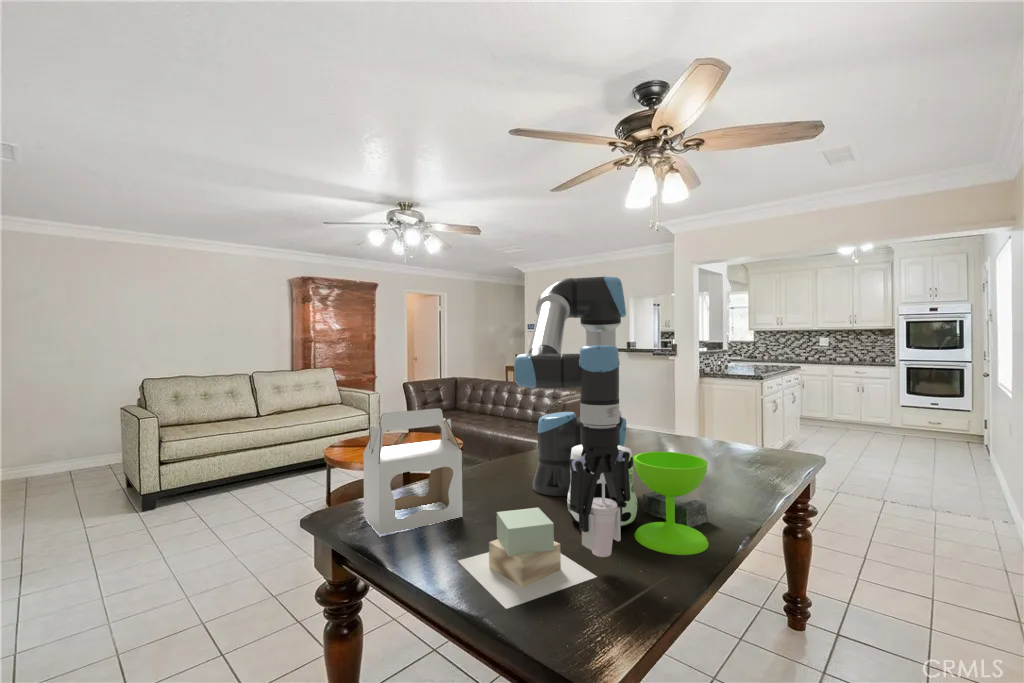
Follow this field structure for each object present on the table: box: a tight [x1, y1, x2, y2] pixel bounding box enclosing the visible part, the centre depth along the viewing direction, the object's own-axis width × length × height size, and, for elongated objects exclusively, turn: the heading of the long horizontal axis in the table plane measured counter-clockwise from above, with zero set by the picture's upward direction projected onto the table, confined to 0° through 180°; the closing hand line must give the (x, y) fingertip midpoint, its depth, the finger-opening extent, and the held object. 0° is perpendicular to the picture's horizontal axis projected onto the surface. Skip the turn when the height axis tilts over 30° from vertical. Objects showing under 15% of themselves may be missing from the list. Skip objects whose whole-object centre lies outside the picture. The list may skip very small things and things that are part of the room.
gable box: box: [363, 407, 463, 534], centre depth 117 cm, size 22×13×28 cm, turn 123°
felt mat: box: [457, 551, 598, 610], centre depth 89 cm, size 20×20×1 cm
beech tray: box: [488, 538, 562, 587], centre depth 89 cm, size 10×10×5 cm
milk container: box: [566, 445, 638, 529], centre depth 114 cm, size 17×17×18 cm
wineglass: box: [633, 451, 710, 556], centre depth 103 cm, size 16×16×18 cm
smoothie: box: [590, 481, 618, 558], centre depth 88 cm, size 6×6×14 cm
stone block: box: [642, 491, 709, 528], centre depth 117 cm, size 9×14×5 cm, turn 30°
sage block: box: [496, 507, 555, 556], centre depth 89 cm, size 9×9×5 cm
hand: (601, 542), depth 88 cm, fingers closed on smoothie, 6 cm apart
